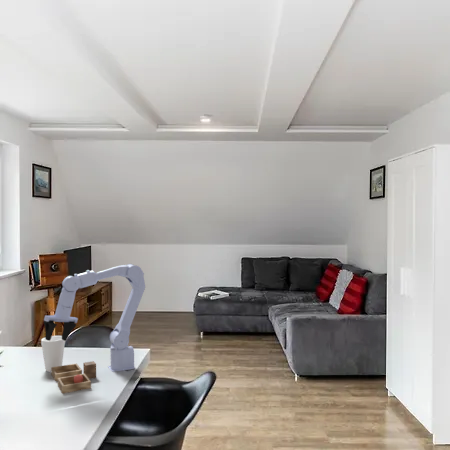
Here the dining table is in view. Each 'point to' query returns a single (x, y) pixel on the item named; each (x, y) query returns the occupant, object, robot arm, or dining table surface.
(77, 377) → the red ball
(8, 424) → the dining table surface
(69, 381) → the box with ball
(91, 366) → the walnut block
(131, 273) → the robot arm
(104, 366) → the dining table surface
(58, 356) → the foam cup
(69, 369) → the box empty
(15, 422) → the dining table surface
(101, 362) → the dining table surface
